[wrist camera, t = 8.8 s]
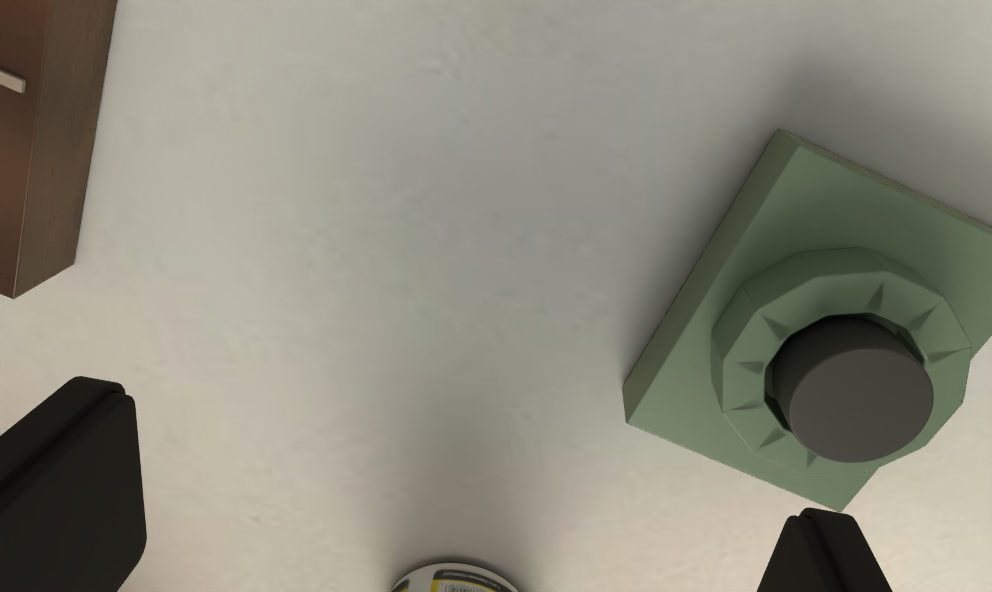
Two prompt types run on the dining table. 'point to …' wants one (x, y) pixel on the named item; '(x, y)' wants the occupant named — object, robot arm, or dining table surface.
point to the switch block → (810, 311)
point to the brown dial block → (47, 130)
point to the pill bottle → (452, 580)
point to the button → (851, 390)
